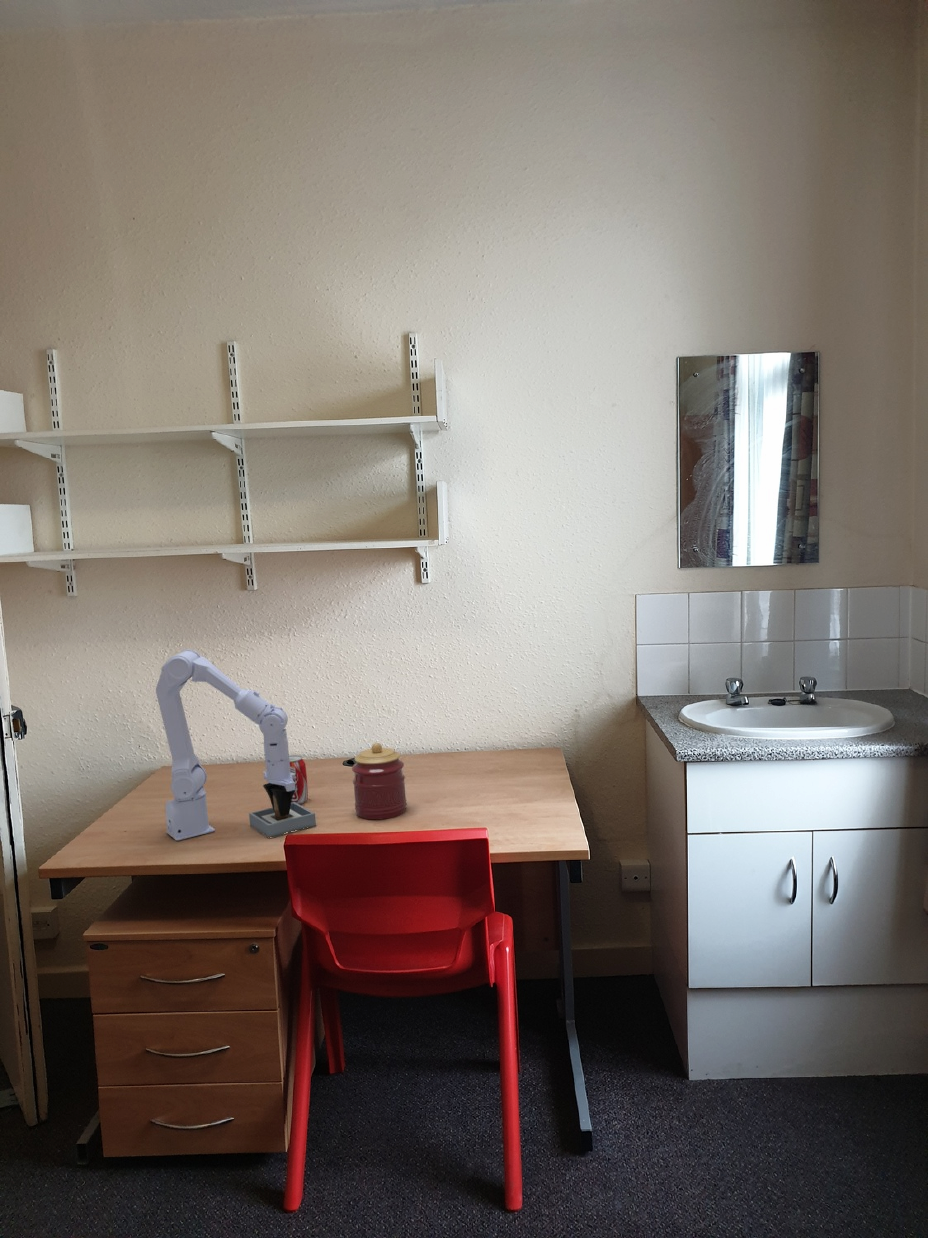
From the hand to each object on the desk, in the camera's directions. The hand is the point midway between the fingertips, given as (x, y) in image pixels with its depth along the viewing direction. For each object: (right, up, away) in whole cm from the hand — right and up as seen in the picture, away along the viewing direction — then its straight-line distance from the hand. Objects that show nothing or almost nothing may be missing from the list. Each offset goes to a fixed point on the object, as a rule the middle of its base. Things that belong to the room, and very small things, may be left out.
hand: (281, 813), depth 220 cm
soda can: (0, -1, +18) cm, 18 cm away
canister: (+24, -1, +7) cm, 25 cm away
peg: (0, -2, 0) cm, 2 cm away
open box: (0, -3, 0) cm, 3 cm away
